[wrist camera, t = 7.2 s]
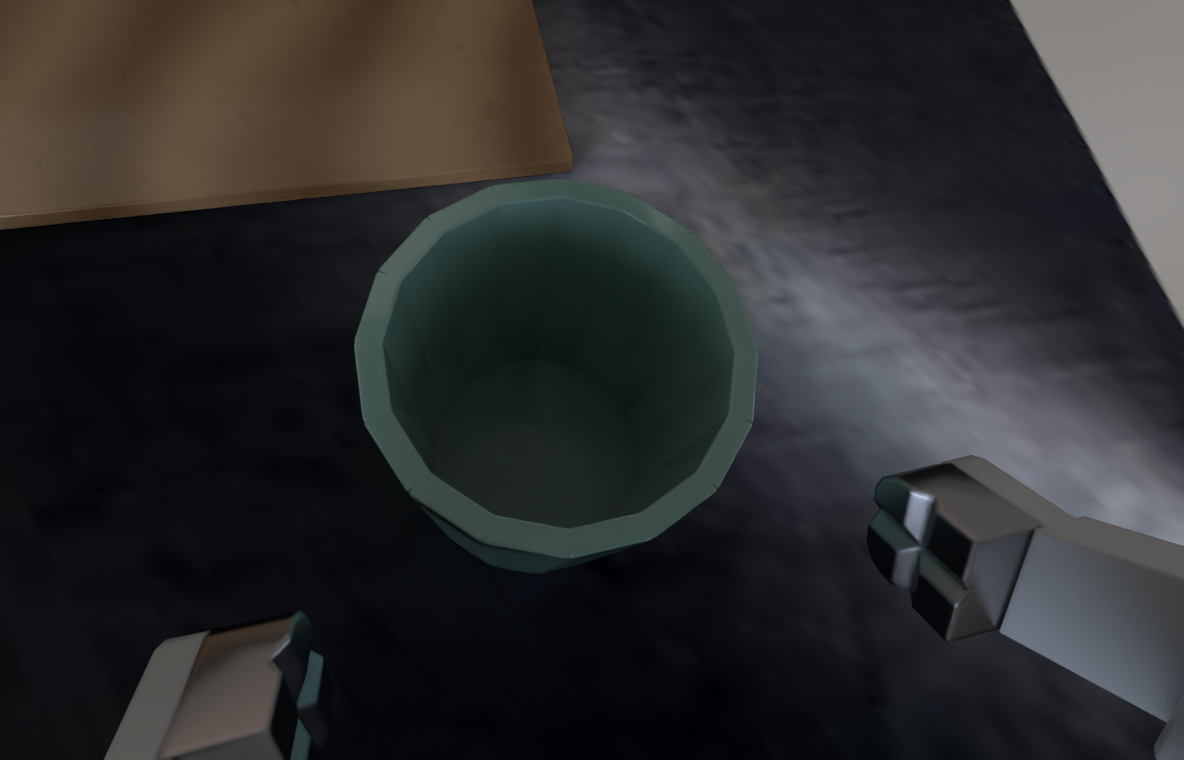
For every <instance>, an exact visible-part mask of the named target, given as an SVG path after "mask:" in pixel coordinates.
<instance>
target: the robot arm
mask: <svg viewBox="0 0 1184 760" xmlns="http://www.w3.org/2000/svg"><path fill="white" fill-rule="evenodd" d="M874 501H875V502H876V504H877V505H878V506H879V508H880V509H879V511H878V512H877V513H876V514H875V516H874V517H873V518H872V519H871V521H870V522H869V526H868V534H867V544H868V547H869V551H870V555H871V558H872V560H873V562H874V563H875V565H876V567H877V568H878V570H879V572H880V573H881V574H882V575H883V576H884V577H885V578H886V579H887V580H888V581H889V582H890V584H892V585H895V586H897V587H899V588H901V589H904V590H906V591H908V592H910V593H911V601H912V607H913V608H914V609H915V610H916V611H917V612H918V613H919V614H920V615H921V616H922V617H923V618H924V619H925V620H926V621H927V622H928V624H929V625H930V626H931V627H932V628H933V629H934V630H935V631H936V632H937V633H938V634H939V635H940V636H941V637H942V638H943V639H944V640H945V641H946V642H951V641H955V640H959V639H963V638H966V637H970V636H974V635H978V634H981V633H985V632H989V631H993V630H997V629H1000V631H999V632H1000V633H1002V634H1004V635H1006V636H1008V637H1009V638H1011V639H1013V640H1015V641H1017V642H1019V643H1021V644H1022V645H1024V646H1026V647H1028V648H1030V649H1032V650H1033V651H1035V652H1037V653H1039V654H1041V655H1043V656H1045V657H1046V658H1048V659H1050V660H1052V661H1054V662H1056V663H1058V664H1059V665H1061V666H1063V667H1065V668H1067V669H1069V670H1071V671H1072V672H1074V673H1076V674H1078V675H1080V676H1082V677H1083V678H1085V679H1087V680H1089V681H1091V682H1093V683H1095V684H1096V685H1098V686H1100V687H1102V688H1104V689H1106V690H1108V691H1109V692H1111V693H1113V694H1115V695H1117V696H1119V697H1120V698H1122V699H1124V700H1126V701H1128V702H1130V703H1132V704H1133V705H1135V706H1137V707H1139V708H1141V709H1143V710H1145V711H1146V712H1148V713H1150V714H1152V715H1154V716H1156V717H1158V718H1159V719H1161V720H1163V721H1165V722H1167V724H1166V726H1165V727H1164V729H1163V731H1162V732H1161V734H1160V736H1159V738H1158V739H1157V741H1156V743H1155V744H1154V752H1155V758H1156V759H1157V760H1184V546H1181V545H1178V544H1175V543H1171V542H1168V541H1165V540H1161V539H1158V538H1155V537H1151V536H1148V535H1145V534H1141V533H1138V532H1135V531H1131V530H1128V529H1125V528H1121V527H1118V526H1115V525H1111V524H1108V523H1105V522H1101V521H1098V520H1095V519H1091V518H1088V517H1080V518H1074V517H1072V516H1071V515H1069V514H1067V513H1066V512H1064V511H1063V510H1061V509H1060V508H1058V507H1057V506H1055V505H1054V504H1052V503H1051V502H1049V501H1048V500H1046V499H1045V498H1043V497H1042V496H1040V495H1039V494H1037V493H1036V492H1034V491H1033V490H1031V489H1029V488H1028V487H1026V486H1025V485H1023V484H1022V483H1020V482H1019V481H1017V480H1016V479H1014V478H1013V477H1011V476H1010V475H1008V474H1007V473H1005V472H1004V471H1002V470H1001V469H999V468H998V467H996V466H994V465H993V464H991V463H990V462H988V461H987V460H985V459H983V458H980V457H976V456H972V455H970V456H966V457H962V458H958V459H953V460H949V461H945V462H942V463H940V464H934V465H930V466H926V467H922V468H918V469H914V470H909V471H905V472H901V473H897V474H893V475H889V476H884V477H882V479H881V480H880V481H879V483H878V484H877V485H876V489H875V494H874ZM313 633H314V632H313V629H312V627H311V625H310V623H309V620H308V618H307V616H306V613H302V612H299V611H298V612H293V613H289V614H284V615H279V616H274V617H269V618H264V619H260V620H255V621H250V622H245V623H240V624H235V625H230V626H226V627H221V628H216V629H212V630H211V631H207V632H202V633H197V634H192V635H187V636H182V637H177V638H172V639H167V640H165V641H164V642H163V643H162V644H161V645H160V646H159V647H158V648H156V650H155V651H154V652H153V654H152V657H151V659H150V661H149V663H148V665H147V667H146V670H145V672H144V674H143V676H142V678H141V680H140V683H139V685H138V687H137V689H136V691H135V693H134V696H133V698H132V700H131V702H130V704H129V706H128V709H127V711H126V713H125V715H124V717H123V719H122V722H121V724H120V726H119V728H118V730H117V732H116V735H115V737H114V739H113V741H112V743H111V746H110V748H109V750H108V752H107V754H106V756H105V759H104V760H320V758H319V756H318V751H319V750H320V749H321V747H322V746H323V745H324V743H325V742H326V740H327V739H328V738H329V736H330V732H331V723H332V714H333V711H332V687H331V682H330V677H329V672H328V669H327V666H326V663H325V660H324V658H323V656H321V655H319V654H317V653H315V652H313V651H311V644H312V639H313Z"/></svg>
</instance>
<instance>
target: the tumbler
mask: <svg viewBox="0 0 1184 760" xmlns="http://www.w3.org/2000/svg"><path fill="white" fill-rule="evenodd" d="M354 341H355V344H354V352H355V360H356V369H357V377H358V385H359V394H360V402H361V410H362V419H363V420H364V423H365V426H366V428H367V429H368V431H369V433H370V434H371V436H372V438H373V439H374V441H375V442H376V444H377V446H378V447H379V449H380V450H381V452H382V454H383V455H384V457H385V458H386V460H387V462H388V463H389V465H390V466H391V468H392V470H393V471H394V473H395V474H396V476H397V478H398V479H399V481H400V482H401V484H402V486H403V487H404V489H405V490H406V492H407V493H408V494H409V495H410V496H411V497H412V498H413V499H414V500H415V501H416V502H417V503H418V504H419V505H420V507H421V508H422V509H423V510H424V511H425V512H426V513H427V514H428V515H429V516H430V517H431V518H432V519H433V520H434V521H435V522H436V523H437V525H438V526H439V527H440V528H441V529H442V530H443V531H444V532H445V533H446V534H447V535H448V536H449V537H450V538H451V539H452V540H453V541H455V542H456V543H458V544H459V545H460V546H462V547H463V548H465V549H466V550H468V551H469V552H470V553H471V554H473V555H475V556H477V557H478V558H480V559H481V560H483V561H484V562H486V563H487V564H489V565H492V566H496V567H501V568H506V569H510V570H514V571H522V572H529V573H535V574H537V573H540V574H541V573H545V572H549V571H553V570H558V569H562V568H566V567H570V566H574V565H579V564H583V563H586V562H589V561H592V560H594V559H597V558H600V557H603V556H606V555H609V554H612V553H615V552H618V551H620V550H623V549H626V548H629V547H632V546H635V545H638V544H641V543H644V542H647V541H649V540H651V539H653V538H656V537H657V536H659V535H660V534H661V533H663V532H664V531H665V530H667V529H668V528H669V527H670V526H672V525H673V524H674V523H676V522H677V521H678V520H680V519H681V518H682V517H684V516H685V515H686V514H688V513H689V512H690V511H691V510H693V509H694V508H695V507H697V506H698V505H699V504H701V503H702V502H703V501H705V500H706V499H707V498H709V497H710V496H711V495H712V494H714V493H715V491H716V490H717V489H718V488H719V487H720V485H721V483H722V481H723V479H724V477H725V476H726V474H727V472H728V470H729V468H730V466H731V464H732V463H733V461H734V459H735V457H736V455H737V453H738V451H739V449H740V448H741V446H742V444H743V442H744V440H745V438H746V436H747V435H748V433H749V431H750V429H751V427H752V423H753V417H754V404H755V390H756V377H757V363H758V353H757V347H756V344H755V341H754V338H753V335H752V331H751V328H750V325H749V322H748V319H747V316H746V313H745V310H744V307H743V304H742V301H741V298H740V295H739V292H738V289H737V287H736V286H735V283H734V282H733V281H732V279H731V278H730V277H729V276H728V274H727V273H726V272H725V271H724V270H723V268H722V267H721V266H720V265H719V263H718V262H717V261H716V260H715V258H714V257H713V256H712V255H711V254H710V252H709V251H708V250H707V249H706V247H705V246H704V245H703V244H702V242H701V241H700V240H699V239H698V238H697V236H696V235H695V234H694V233H693V232H691V230H690V229H688V228H687V227H685V226H684V225H682V224H680V223H679V222H677V221H675V220H674V219H672V218H671V217H669V216H667V215H666V214H664V213H662V212H661V211H659V210H658V209H656V208H654V207H653V206H651V205H649V204H648V203H646V202H645V201H643V200H641V199H640V198H638V197H636V196H635V195H631V194H630V193H627V192H622V191H618V190H614V189H609V188H605V187H601V186H596V185H592V184H588V183H583V182H579V181H575V180H570V179H566V178H564V179H563V180H562V178H555V179H545V180H536V181H526V182H516V183H507V184H497V185H493V186H492V187H491V186H488V187H486V188H484V189H482V190H480V191H478V192H476V193H474V194H472V195H470V196H468V197H466V198H464V199H462V200H460V201H458V202H456V203H453V204H451V205H449V206H447V207H445V208H443V209H441V210H439V211H437V212H435V213H433V214H431V215H429V216H428V217H427V218H425V219H424V220H423V221H422V222H421V223H420V224H419V225H418V227H417V228H416V229H415V230H414V231H413V232H412V233H411V234H410V235H409V237H408V238H407V239H406V240H405V241H404V242H403V243H402V244H401V245H400V246H399V248H398V249H397V250H396V251H395V252H394V253H393V254H392V255H391V256H390V258H389V259H388V260H387V261H386V262H385V263H384V264H383V265H382V266H381V267H380V269H379V272H377V274H376V276H375V279H374V282H373V285H372V288H371V291H370V294H369V297H368V300H367V303H366V306H365V310H364V313H363V316H362V319H361V322H360V325H359V328H358V331H357V334H356V337H355V340H354Z"/></svg>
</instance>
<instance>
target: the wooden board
mask: <svg viewBox="0 0 1184 760" xmlns="http://www.w3.org/2000/svg"><path fill="white" fill-rule="evenodd" d="M573 161H574V159H573V155H572V151H571V148H570V144H569V140H568V136H567V132H566V128H565V125H564V121H563V117H562V113H561V109H560V105H559V102H558V98H557V94H556V90H555V86H554V82H553V79H552V75H551V71H550V67H549V63H548V60H547V56H546V52H545V48H544V44H543V40H542V37H541V33H540V29H539V25H538V21H537V17H536V14H535V10H534V6H533V2H532V0H0V230H3V229H13V228H23V227H33V226H43V225H53V224H62V223H72V222H82V221H92V220H102V219H111V218H121V217H131V216H141V215H151V214H160V213H170V212H180V211H190V210H200V209H210V208H219V207H229V206H239V205H249V204H259V203H268V202H278V201H288V200H298V199H308V198H317V197H327V196H337V195H347V194H357V193H366V192H376V191H386V190H396V189H406V188H416V187H425V186H435V185H445V184H455V183H465V182H474V181H484V180H494V179H504V178H514V177H523V176H533V175H543V174H553V173H563V172H571V171H572V167H573Z"/></svg>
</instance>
